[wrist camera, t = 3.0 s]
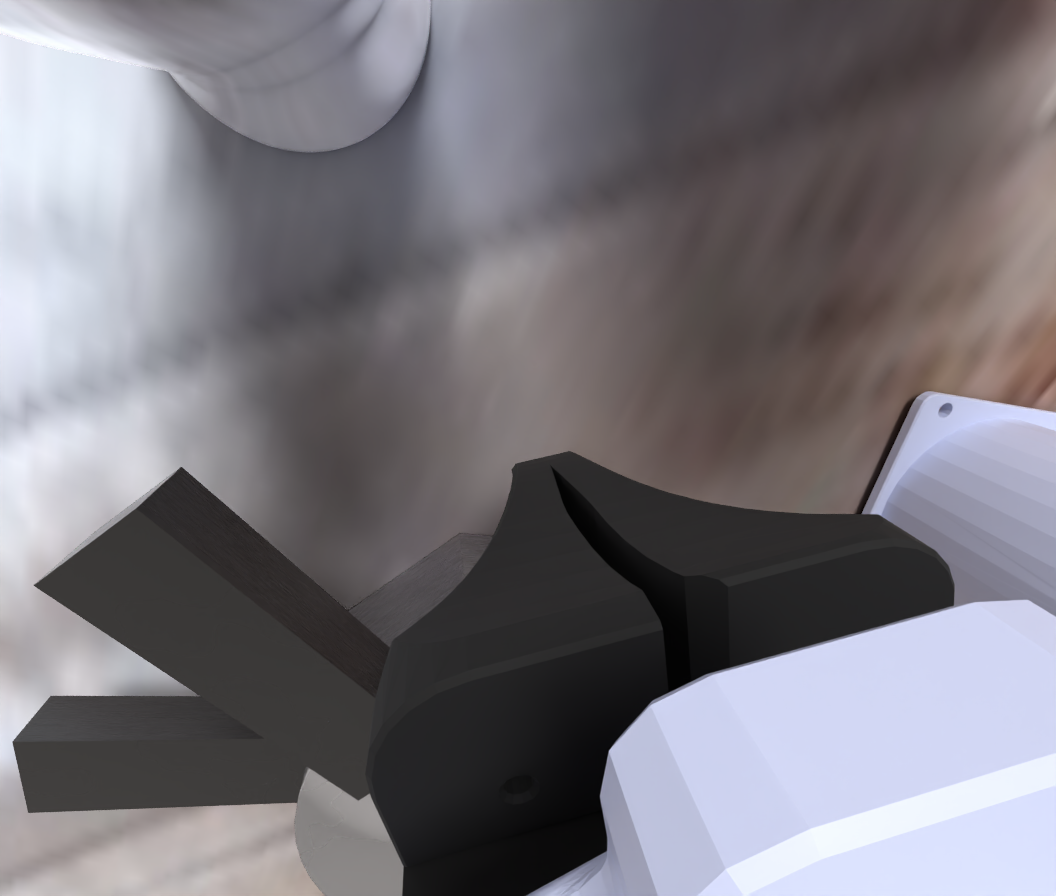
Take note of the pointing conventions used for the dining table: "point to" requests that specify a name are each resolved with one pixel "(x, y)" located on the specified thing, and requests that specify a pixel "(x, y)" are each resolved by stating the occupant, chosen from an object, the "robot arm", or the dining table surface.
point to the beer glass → (254, 57)
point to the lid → (248, 657)
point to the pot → (198, 725)
